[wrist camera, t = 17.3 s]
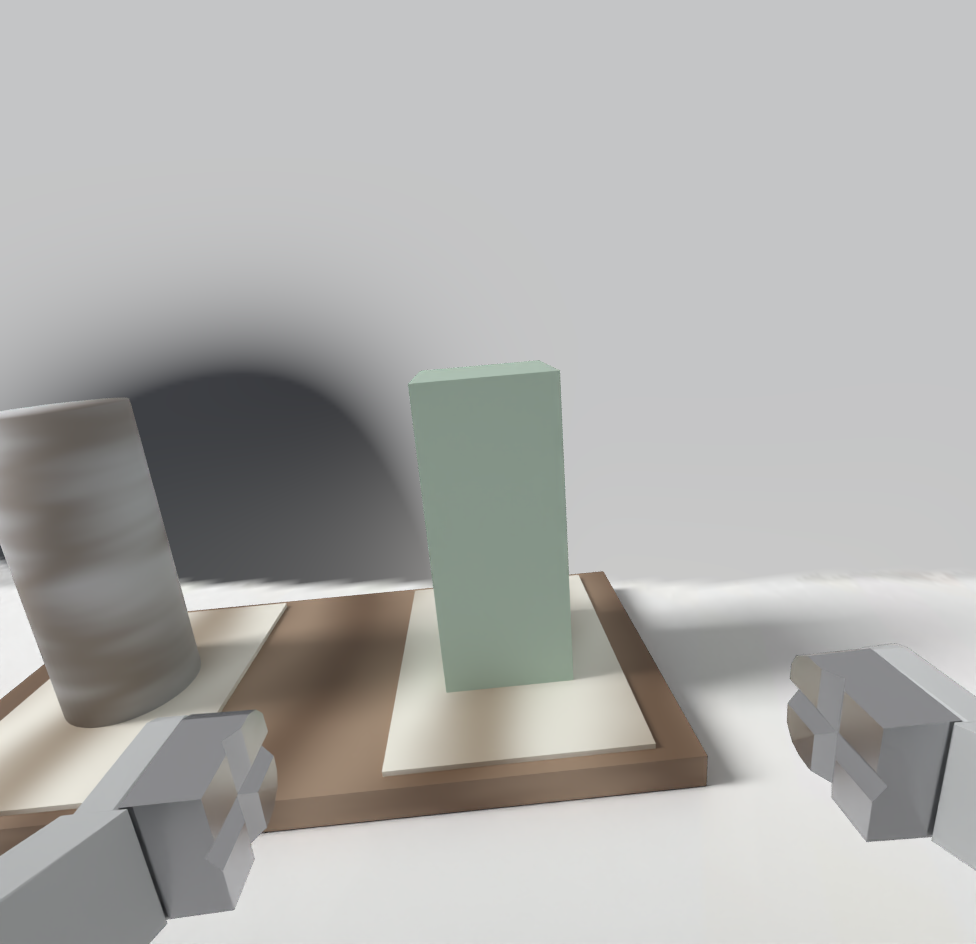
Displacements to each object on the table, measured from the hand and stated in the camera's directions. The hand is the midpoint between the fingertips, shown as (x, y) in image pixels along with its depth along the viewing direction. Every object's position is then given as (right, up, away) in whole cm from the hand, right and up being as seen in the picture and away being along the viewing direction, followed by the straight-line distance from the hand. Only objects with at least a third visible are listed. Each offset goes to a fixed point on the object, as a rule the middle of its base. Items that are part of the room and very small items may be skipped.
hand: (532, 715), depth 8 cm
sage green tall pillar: (0, -4, +15) cm, 15 cm away
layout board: (-8, -6, +15) cm, 18 cm away
